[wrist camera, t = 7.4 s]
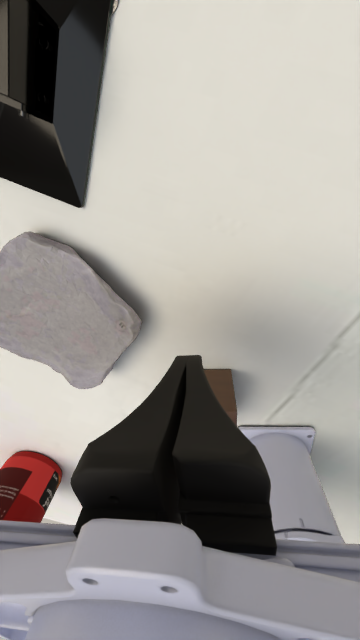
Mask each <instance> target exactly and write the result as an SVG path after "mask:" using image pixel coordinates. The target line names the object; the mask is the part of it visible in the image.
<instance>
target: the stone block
mask: <svg viewBox="0 0 360 640" xmlns="http://www.w3.org/2000/svg"><path fill="white" fill-rule="evenodd" d="M141 324H142V322H141V319H140V318H139V317H138V315H137V314H136V313H135V311H134V309H133V308H131V307H130V306H129V305H128V304H127V303H126V302H125V301H124V300H123V299H121V298H120V297H119V296H118V295H117V294H116V293H115V292H114V291H113V290H112V288H111V287H110V286H109V285H108V284H107V283H106V282H104V281H103V279H102V278H100V277H99V276H98V275H97V274H96V273H95V271H94V270H93V269H92V268H91V267H90V266H89V265H88V264H87V263H86V262H85V261H84V260H83V259H82V258H81V257H80V256H79V255H78V253H77V252H76V251H75V250H74V249H73V248H72V247H70V246H68V245H65V244H62V243H59V242H56V241H53V240H50V239H47V238H44V237H43V236H41V235H38V234H36V233H33V232H24V233H23V234H21V235H19V236H17V237H16V238H14V239H12V240H10V241H9V242H8V243H7V244H6V245H5V246H4V247H3V248H2V250H1V251H0V347H1V348H4V349H6V350H9V351H10V352H12V353H14V354H16V355H18V356H20V357H24V358H27V359H32V360H35V361H38V362H41V363H44V364H46V365H48V366H50V367H51V368H52V369H53V370H55V371H56V372H58V373H61V374H62V375H63V376H64V377H65V378H66V380H67V381H68V382H69V383H70V384H71V385H72V386H73V387H76V388H78V389H89V388H93V387H95V386H98V385H100V384H101V383H102V382H103V380H104V379H105V377H106V376H107V375H108V374H109V372H110V371H111V370H112V368H113V366H114V363H115V361H116V360H117V359H118V358H119V357H120V355H121V354H122V352H123V351H124V350H126V349H127V347H128V346H129V345H130V344H131V343H132V342H133V341H134V340H135V339H136V337H137V335H138V333H139V331H140V329H141Z"/></svg>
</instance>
